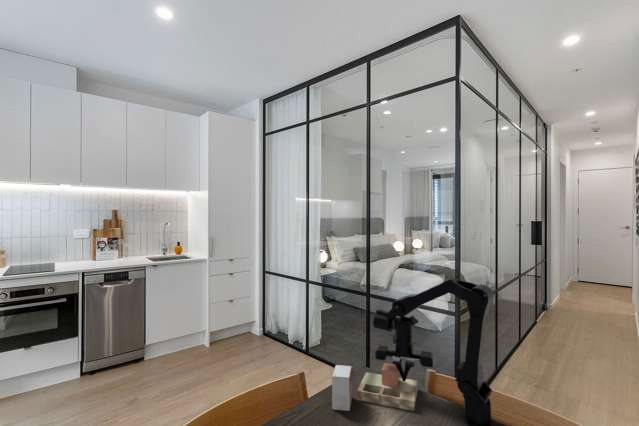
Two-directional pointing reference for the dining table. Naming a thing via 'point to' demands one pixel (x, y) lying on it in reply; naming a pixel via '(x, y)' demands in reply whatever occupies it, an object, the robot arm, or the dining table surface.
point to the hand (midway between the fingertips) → (404, 380)
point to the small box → (342, 388)
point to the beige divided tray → (388, 392)
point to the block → (390, 375)
